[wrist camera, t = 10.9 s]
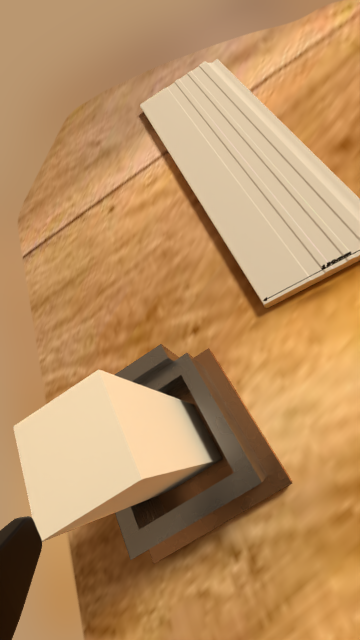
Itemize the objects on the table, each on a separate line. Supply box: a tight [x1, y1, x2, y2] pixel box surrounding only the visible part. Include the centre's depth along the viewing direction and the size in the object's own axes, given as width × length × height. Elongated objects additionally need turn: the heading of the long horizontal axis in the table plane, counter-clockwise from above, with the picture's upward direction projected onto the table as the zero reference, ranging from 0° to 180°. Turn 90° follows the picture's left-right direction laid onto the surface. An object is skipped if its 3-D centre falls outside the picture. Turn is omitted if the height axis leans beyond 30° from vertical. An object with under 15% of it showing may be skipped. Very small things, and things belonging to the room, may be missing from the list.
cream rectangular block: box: [14, 370, 222, 542], centre depth 16 cm, size 4×4×12 cm
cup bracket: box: [115, 344, 292, 564], centre depth 19 cm, size 10×10×6 cm
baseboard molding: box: [140, 59, 360, 308], centre depth 29 cm, size 31×3×12 cm
